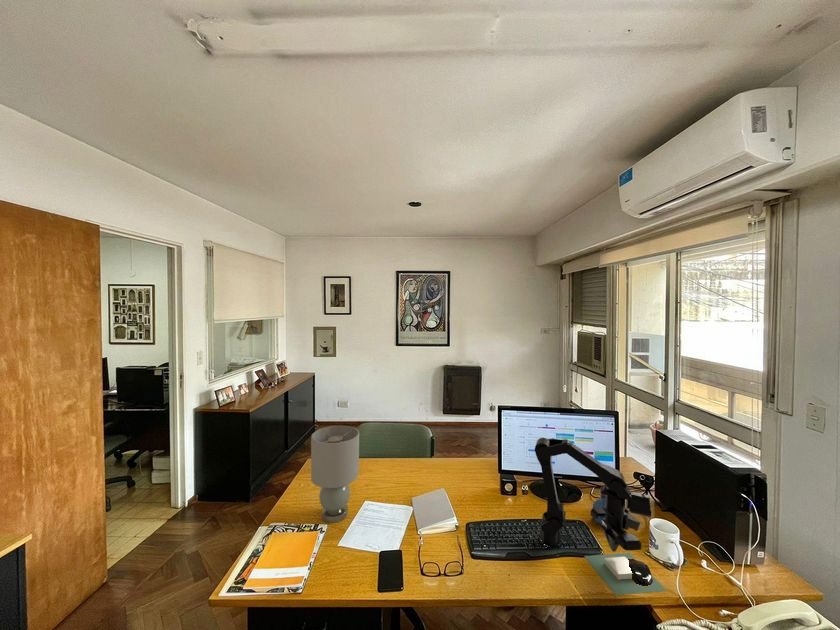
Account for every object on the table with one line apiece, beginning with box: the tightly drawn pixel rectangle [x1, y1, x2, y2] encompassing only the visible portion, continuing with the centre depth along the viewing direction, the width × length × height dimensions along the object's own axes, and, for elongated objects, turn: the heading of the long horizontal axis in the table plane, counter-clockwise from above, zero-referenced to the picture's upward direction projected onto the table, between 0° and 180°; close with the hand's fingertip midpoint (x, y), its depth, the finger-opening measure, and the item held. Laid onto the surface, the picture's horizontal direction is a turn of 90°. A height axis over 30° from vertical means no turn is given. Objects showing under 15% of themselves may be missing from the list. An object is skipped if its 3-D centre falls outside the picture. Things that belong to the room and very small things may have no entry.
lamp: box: [310, 425, 360, 524], centre depth 138 cm, size 20×20×35 cm
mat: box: [583, 552, 668, 596], centre depth 110 cm, size 18×16×1 cm
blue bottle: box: [592, 493, 606, 525], centre depth 137 cm, size 6×6×12 cm
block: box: [604, 557, 633, 580], centre depth 110 cm, size 8×2×7 cm
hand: (613, 550), depth 114 cm, fingers closed
